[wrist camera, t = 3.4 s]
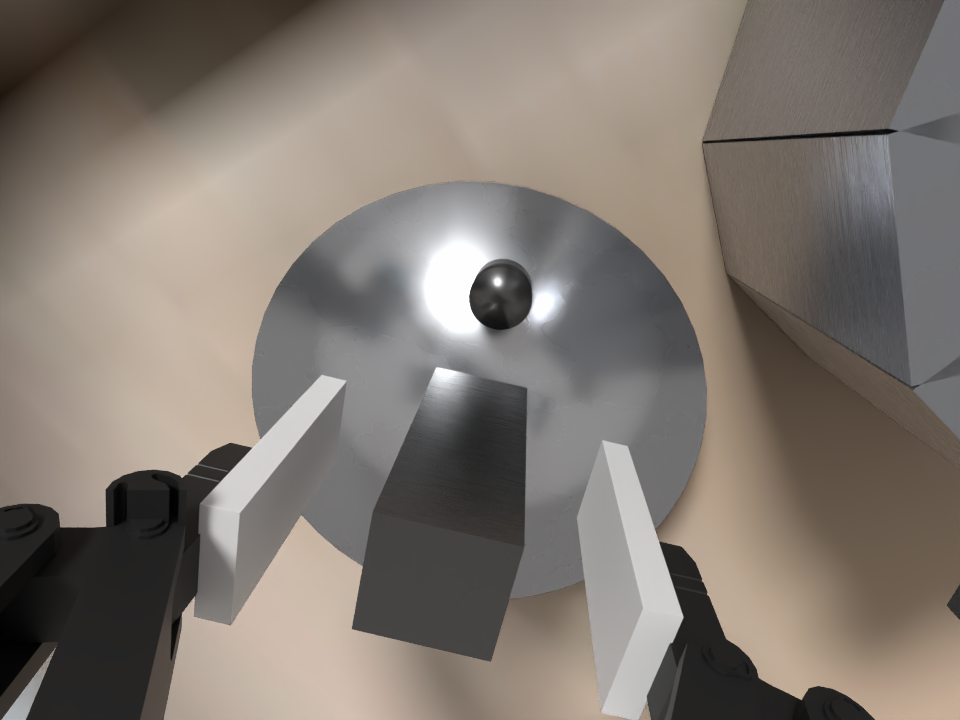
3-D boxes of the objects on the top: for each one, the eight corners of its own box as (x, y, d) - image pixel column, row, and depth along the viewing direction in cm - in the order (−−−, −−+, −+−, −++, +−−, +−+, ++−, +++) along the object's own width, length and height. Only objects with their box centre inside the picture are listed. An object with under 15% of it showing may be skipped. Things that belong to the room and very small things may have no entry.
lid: (267, 508, 24) (83, 756, 14) (304, 132, 19) (56, 110, 9) (616, 589, 24) (675, 896, 14) (749, 234, 19) (991, 325, 9)
